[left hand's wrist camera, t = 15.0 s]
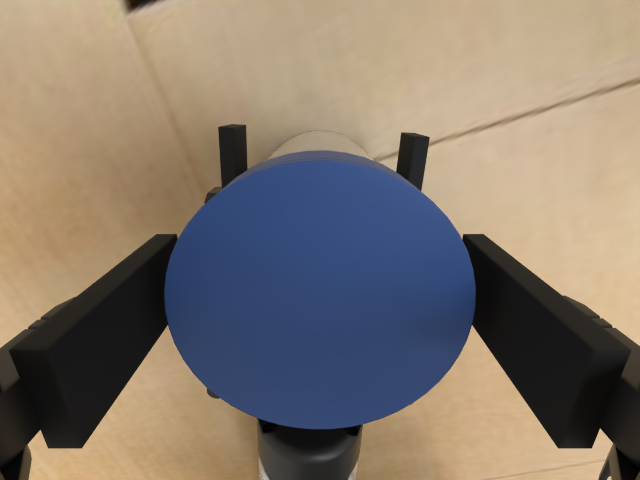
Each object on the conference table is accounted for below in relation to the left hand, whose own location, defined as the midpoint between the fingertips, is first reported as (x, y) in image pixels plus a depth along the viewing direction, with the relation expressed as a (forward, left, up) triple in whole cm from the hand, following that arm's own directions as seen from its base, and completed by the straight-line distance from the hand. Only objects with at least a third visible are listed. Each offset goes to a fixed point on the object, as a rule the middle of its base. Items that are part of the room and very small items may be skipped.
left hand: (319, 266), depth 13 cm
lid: (0, 0, +3) cm, 3 cm away
